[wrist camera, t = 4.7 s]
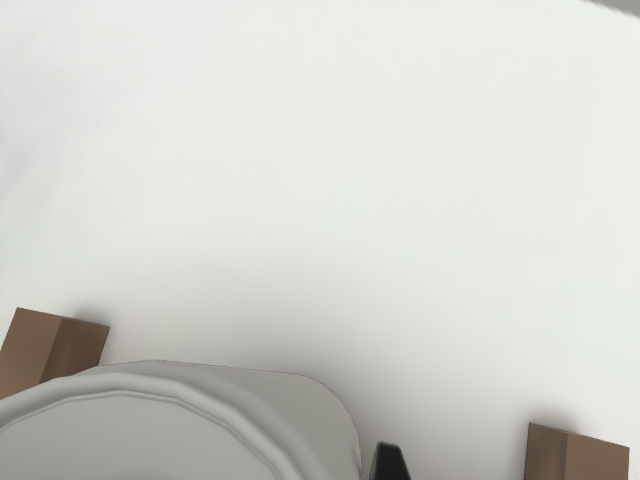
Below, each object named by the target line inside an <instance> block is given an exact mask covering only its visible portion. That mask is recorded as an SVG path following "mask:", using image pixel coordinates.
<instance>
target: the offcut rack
mask: <svg viewBox="0 0 640 480" xmlns="http://www.w3.org/2000/svg"><path fill="white" fill-rule="evenodd" d="M108 330H109V327H108V326H103V325H99V324H95V323H90V322H86V321H82V320H77V319H73V318H68V317H63V316H58V315H53V314H48V313H43V312H38V311H33V310H28V309H23V308H18V307H17V309H16V312H15V314H14V317H13V320H12V322H11V325H10V327H9V330H8V333H7V335H6V338H5V340H4V343H3V346H2V348H1V351H0V400H2V399H4V398H7V397H9V396H12V395H14V394H17V393H19V392H22V391H24V390H27V389H29V388H32V387H34V386H37V385H39V384H42V383H45V382H47V381H50V380H52V379H55V378H58V377H67V376H72V375H75V374H77V373H80V372H82V371H85V370H87V369H90V368H92V367H95V366H97V363H98V360H99V357H100V354H101V351H102V348H103V345H104V342H105V339H106V336H107V333H108ZM628 467H629V447H625V446H622V445H618V444H614V443H610V442H606V441H603V440H599V439H595V438H591V437H587V436H584V435H580V434H576V433H571V432H567V431H562V430H558V429H554V428H549V427H545V426H541V425H536V424H532V423H529V433H528V443H527V453H526V464H525V474H524V480H628Z"/></svg>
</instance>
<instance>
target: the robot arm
mask: <svg viewBox="0 0 640 480" xmlns="http://www.w3.org/2000/svg"><path fill="white" fill-rule="evenodd" d="M369 480H411V477H410V474H409V471H408V468H407V466H406V463H405V460H404V457H403V454H402V451H401V449H400V447H399V446H398V445H395V444H391V443H387V442H383V441H380V442H378V443H377V446H376V450H375V454H374V458H373V462H372V466H371V470H370V476H369Z"/></svg>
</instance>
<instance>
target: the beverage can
mask: <svg viewBox="0 0 640 480" xmlns="http://www.w3.org/2000/svg"><path fill="white" fill-rule="evenodd" d="M0 480H363V474H362V462H361V452H360V444H359V436H358V433H357V430H356V427H355V425H354V422H353V419H352V417H351V414H350V413H349V412H348V410H347V409H346V407H345V406H344V404H343V403H342V402H341V400H340V399H339V397H337V396H336V395H335V394H334V393H333V392H331V391H330V390H329V389H328V388H327V387H326V386H324V385H323V384H321V383H319V382H317V381H315V380H312V379H310V378H308V377H306V376H301V375H295V374H288V373H280V372H270V371H261V370H251V369H242V368H232V367H222V366H213V365H203V364H194V363H184V362H174V361H165V360H147V361H138V362H129V363H121V364H112V365H103V366H95V367H92V368H90V369H87V370H85V371H82V372H80V373H77V374H75V375H72V376H67V377H58V378H55V379H52V380H50V381H47V382H45V383H42V384H39V385H37V386H34V387H32V388H29V389H27V390H24V391H22V392H19V393H17V394H14V395H12V396H9V397H7V398H4V399H2V400H0Z"/></svg>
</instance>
